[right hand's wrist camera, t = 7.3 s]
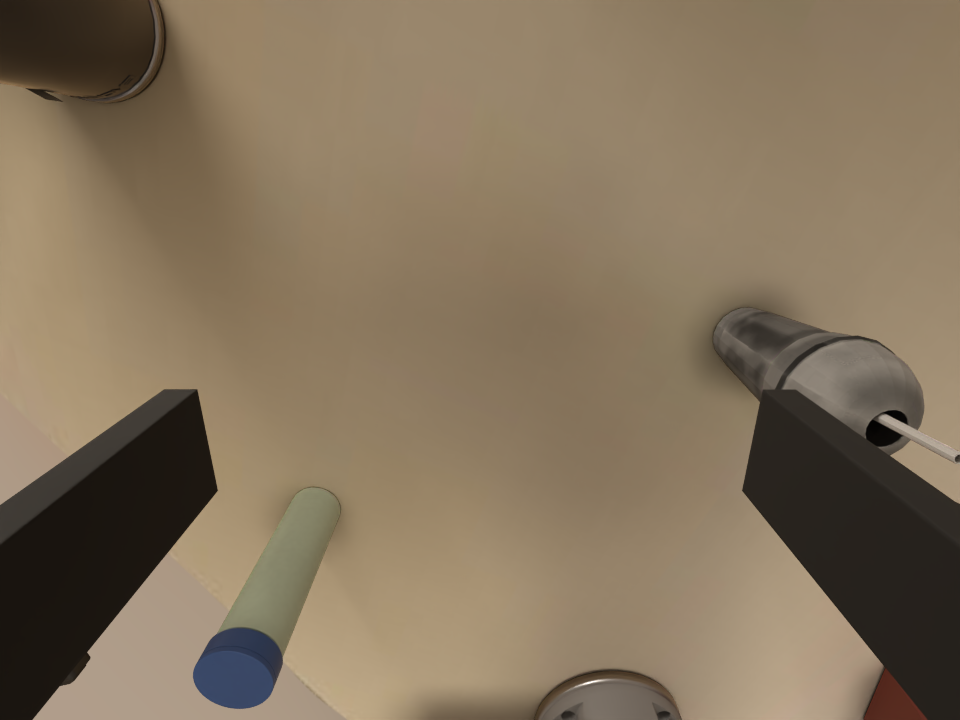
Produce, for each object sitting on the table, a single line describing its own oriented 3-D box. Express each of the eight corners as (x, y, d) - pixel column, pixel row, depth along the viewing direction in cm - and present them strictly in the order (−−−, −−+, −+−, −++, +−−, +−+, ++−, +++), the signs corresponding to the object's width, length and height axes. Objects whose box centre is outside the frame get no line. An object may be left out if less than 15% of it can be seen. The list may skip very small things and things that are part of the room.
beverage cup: (716, 394, 42) (903, 576, 24) (680, 320, 40) (854, 454, 21) (803, 350, 41) (1075, 505, 22) (770, 271, 39) (1041, 368, 20)
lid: (215, 618, 31) (201, 642, 30) (291, 640, 32) (282, 664, 30) (199, 671, 33) (185, 696, 31) (272, 691, 33) (262, 717, 32)
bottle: (299, 480, 45) (208, 638, 30) (346, 496, 46) (281, 659, 31) (286, 518, 47) (193, 688, 32) (332, 533, 47) (263, 707, 32)
